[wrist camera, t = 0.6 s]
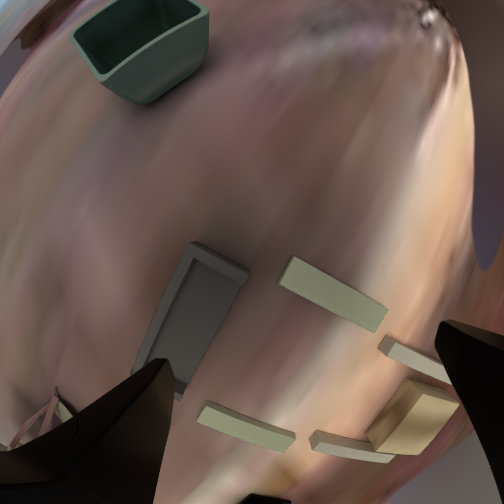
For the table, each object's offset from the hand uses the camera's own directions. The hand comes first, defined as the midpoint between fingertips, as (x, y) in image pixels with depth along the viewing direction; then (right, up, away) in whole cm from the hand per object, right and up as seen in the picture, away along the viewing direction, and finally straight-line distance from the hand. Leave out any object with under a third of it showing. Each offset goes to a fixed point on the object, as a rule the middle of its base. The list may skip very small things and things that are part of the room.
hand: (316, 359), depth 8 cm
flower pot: (-11, +20, +14) cm, 27 cm away
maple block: (+16, -16, +17) cm, 28 cm away
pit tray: (-7, -3, +15) cm, 17 cm away
